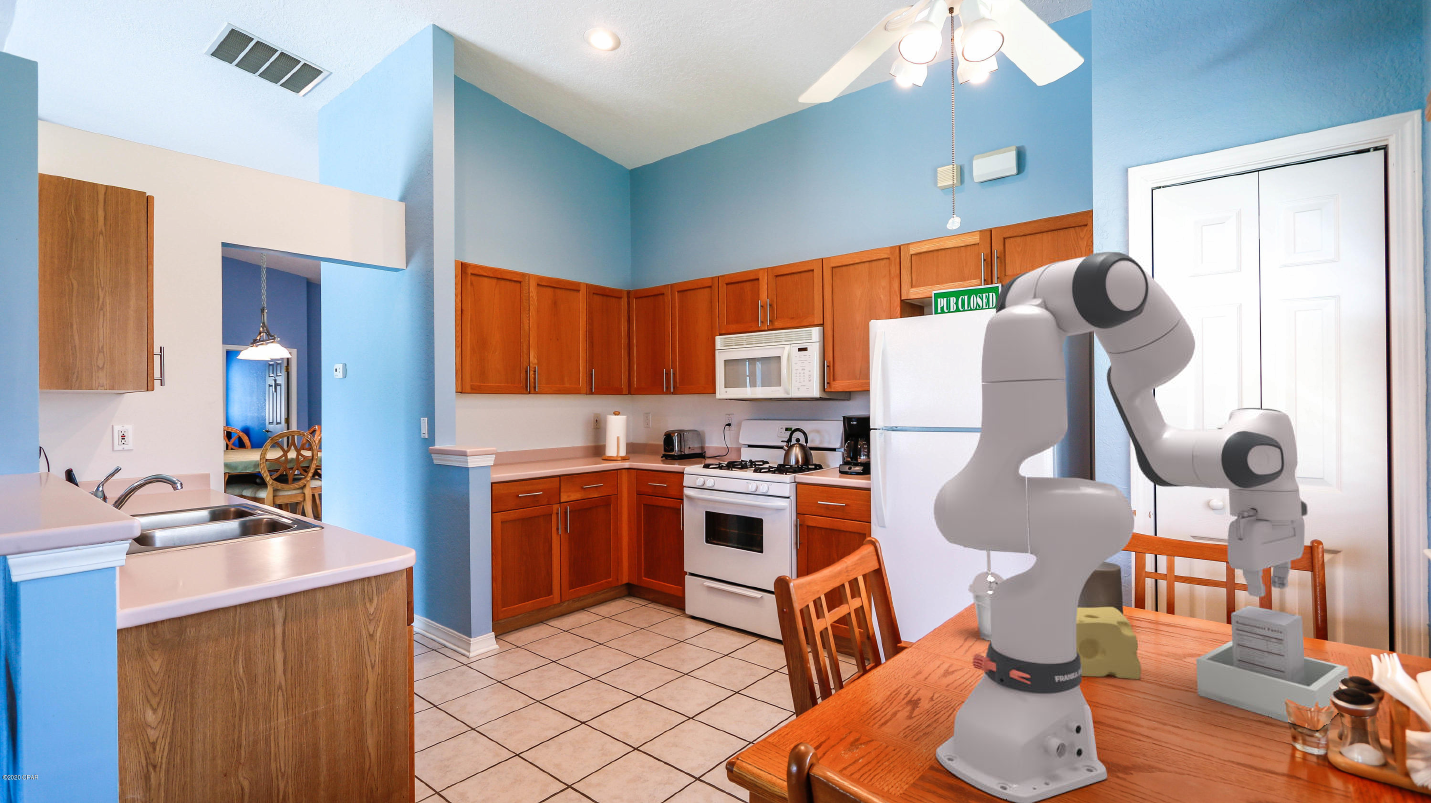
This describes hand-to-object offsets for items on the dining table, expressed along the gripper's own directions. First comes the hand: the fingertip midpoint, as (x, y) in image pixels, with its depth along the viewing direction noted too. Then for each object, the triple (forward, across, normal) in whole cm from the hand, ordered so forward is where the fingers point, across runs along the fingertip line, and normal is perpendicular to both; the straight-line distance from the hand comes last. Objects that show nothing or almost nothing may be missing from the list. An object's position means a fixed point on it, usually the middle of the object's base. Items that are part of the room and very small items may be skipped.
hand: (1268, 591), depth 103 cm
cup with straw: (+18, -10, +44) cm, 49 cm away
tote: (+18, +1, +1) cm, 18 cm away
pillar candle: (+17, +14, +35) cm, 41 cm away
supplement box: (+17, +1, +1) cm, 17 cm away
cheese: (+18, -8, +24) cm, 31 cm away
